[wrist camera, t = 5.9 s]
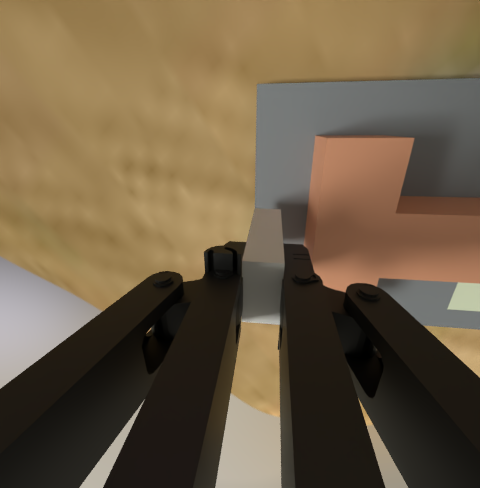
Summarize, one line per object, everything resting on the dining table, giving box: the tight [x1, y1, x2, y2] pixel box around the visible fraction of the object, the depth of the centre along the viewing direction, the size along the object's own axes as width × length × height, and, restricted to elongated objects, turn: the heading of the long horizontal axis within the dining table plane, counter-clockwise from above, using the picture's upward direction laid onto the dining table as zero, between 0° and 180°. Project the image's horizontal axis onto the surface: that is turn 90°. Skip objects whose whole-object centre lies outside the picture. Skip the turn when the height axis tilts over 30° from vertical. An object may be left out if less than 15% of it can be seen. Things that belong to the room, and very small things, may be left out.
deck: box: [255, 78, 480, 329], centre depth 16 cm, size 26×15×1 cm, turn 90°
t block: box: [304, 135, 480, 292], centre depth 14 cm, size 10×10×4 cm
